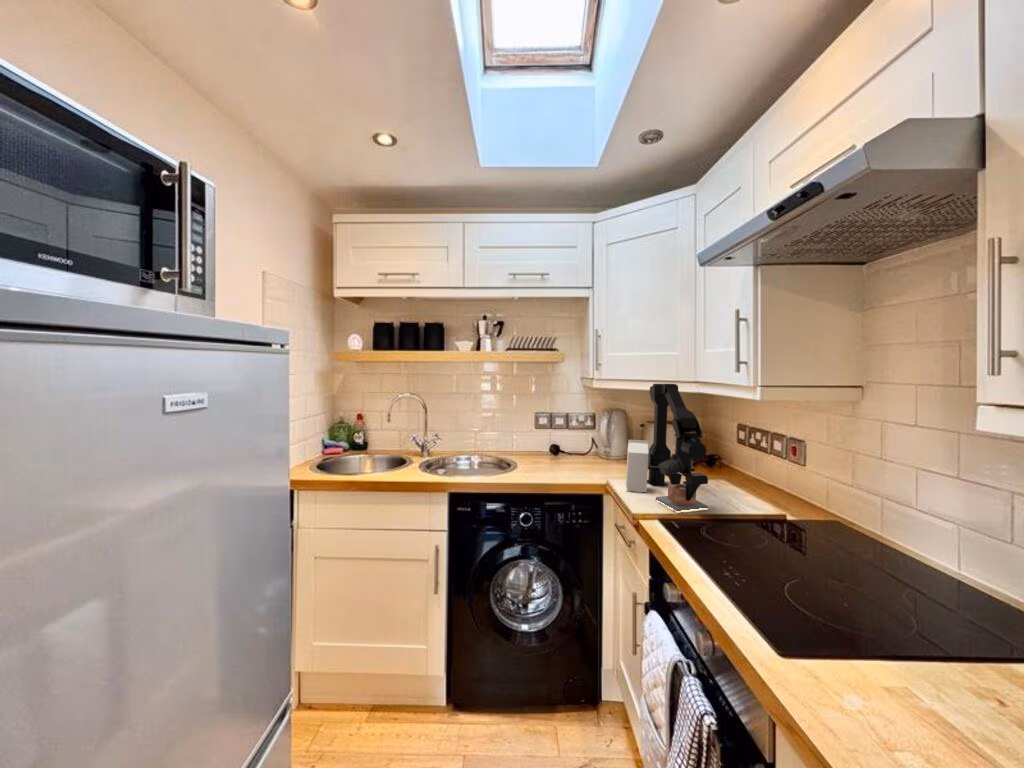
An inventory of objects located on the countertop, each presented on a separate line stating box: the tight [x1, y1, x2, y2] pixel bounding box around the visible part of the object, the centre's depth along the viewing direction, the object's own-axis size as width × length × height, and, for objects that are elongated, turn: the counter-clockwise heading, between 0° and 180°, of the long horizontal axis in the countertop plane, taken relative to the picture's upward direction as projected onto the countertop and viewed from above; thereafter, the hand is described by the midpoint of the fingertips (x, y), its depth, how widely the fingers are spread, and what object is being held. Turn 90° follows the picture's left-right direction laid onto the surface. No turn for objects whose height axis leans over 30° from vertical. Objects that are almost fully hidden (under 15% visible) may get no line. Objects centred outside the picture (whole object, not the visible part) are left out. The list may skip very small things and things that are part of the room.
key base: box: [655, 487, 709, 511], centre depth 157 cm, size 12×12×6 cm
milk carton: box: [625, 439, 649, 493], centre depth 173 cm, size 7×7×19 cm
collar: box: [667, 483, 697, 505], centre depth 157 cm, size 6×6×5 cm
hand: (681, 497), depth 157 cm, fingers open, 7 cm apart
